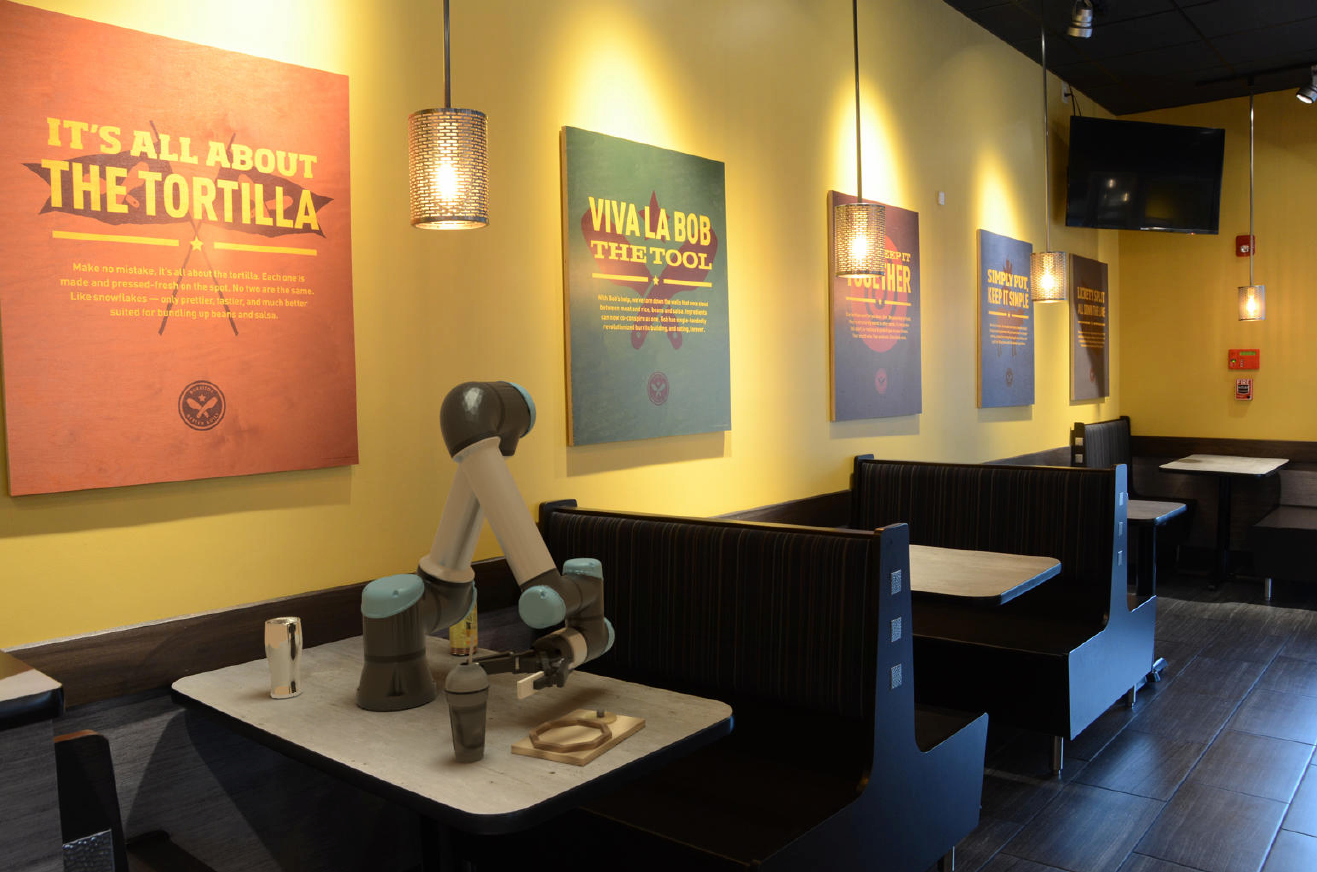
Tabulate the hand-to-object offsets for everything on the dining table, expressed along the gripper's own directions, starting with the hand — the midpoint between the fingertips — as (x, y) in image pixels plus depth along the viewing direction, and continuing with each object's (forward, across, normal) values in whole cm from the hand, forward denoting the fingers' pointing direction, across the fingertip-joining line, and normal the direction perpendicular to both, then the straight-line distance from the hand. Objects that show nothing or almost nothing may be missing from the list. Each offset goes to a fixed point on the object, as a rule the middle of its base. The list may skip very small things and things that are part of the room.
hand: (485, 685), depth 159 cm
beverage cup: (+3, +1, -11) cm, 12 cm away
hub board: (-11, -11, -11) cm, 19 cm away
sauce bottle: (-47, +43, -11) cm, 65 cm away
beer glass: (-8, +57, -11) cm, 58 cm away
